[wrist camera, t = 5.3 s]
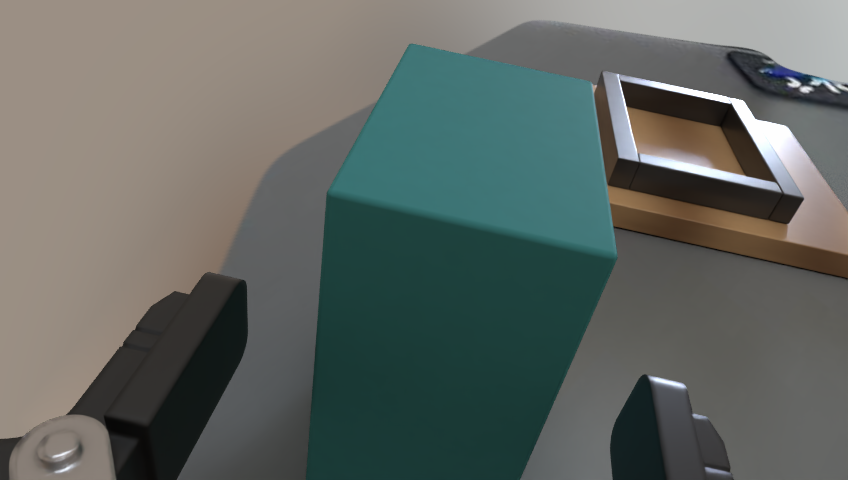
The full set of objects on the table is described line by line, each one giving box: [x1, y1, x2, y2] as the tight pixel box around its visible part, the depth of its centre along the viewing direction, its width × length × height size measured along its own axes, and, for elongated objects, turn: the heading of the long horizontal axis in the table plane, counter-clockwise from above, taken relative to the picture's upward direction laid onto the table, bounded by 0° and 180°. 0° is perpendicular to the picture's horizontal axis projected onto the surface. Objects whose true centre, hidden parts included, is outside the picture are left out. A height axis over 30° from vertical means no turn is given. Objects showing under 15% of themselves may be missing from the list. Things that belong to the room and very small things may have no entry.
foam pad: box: [306, 44, 617, 480], centre depth 15 cm, size 4×7×10 cm, turn 170°
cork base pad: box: [592, 71, 848, 278], centre depth 33 cm, size 16×14×3 cm
